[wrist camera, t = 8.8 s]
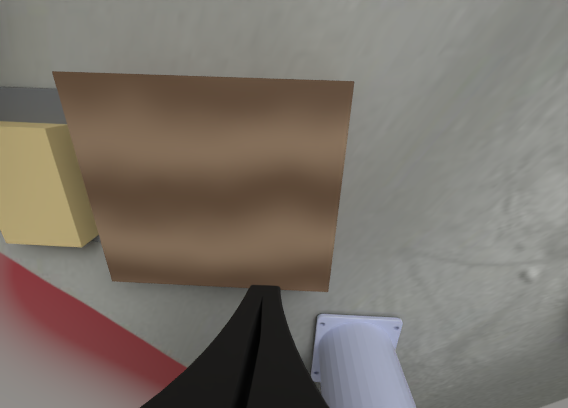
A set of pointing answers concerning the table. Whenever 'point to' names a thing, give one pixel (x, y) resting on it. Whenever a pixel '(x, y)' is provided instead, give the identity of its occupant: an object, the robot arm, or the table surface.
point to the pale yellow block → (42, 187)
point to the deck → (211, 175)
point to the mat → (32, 107)
